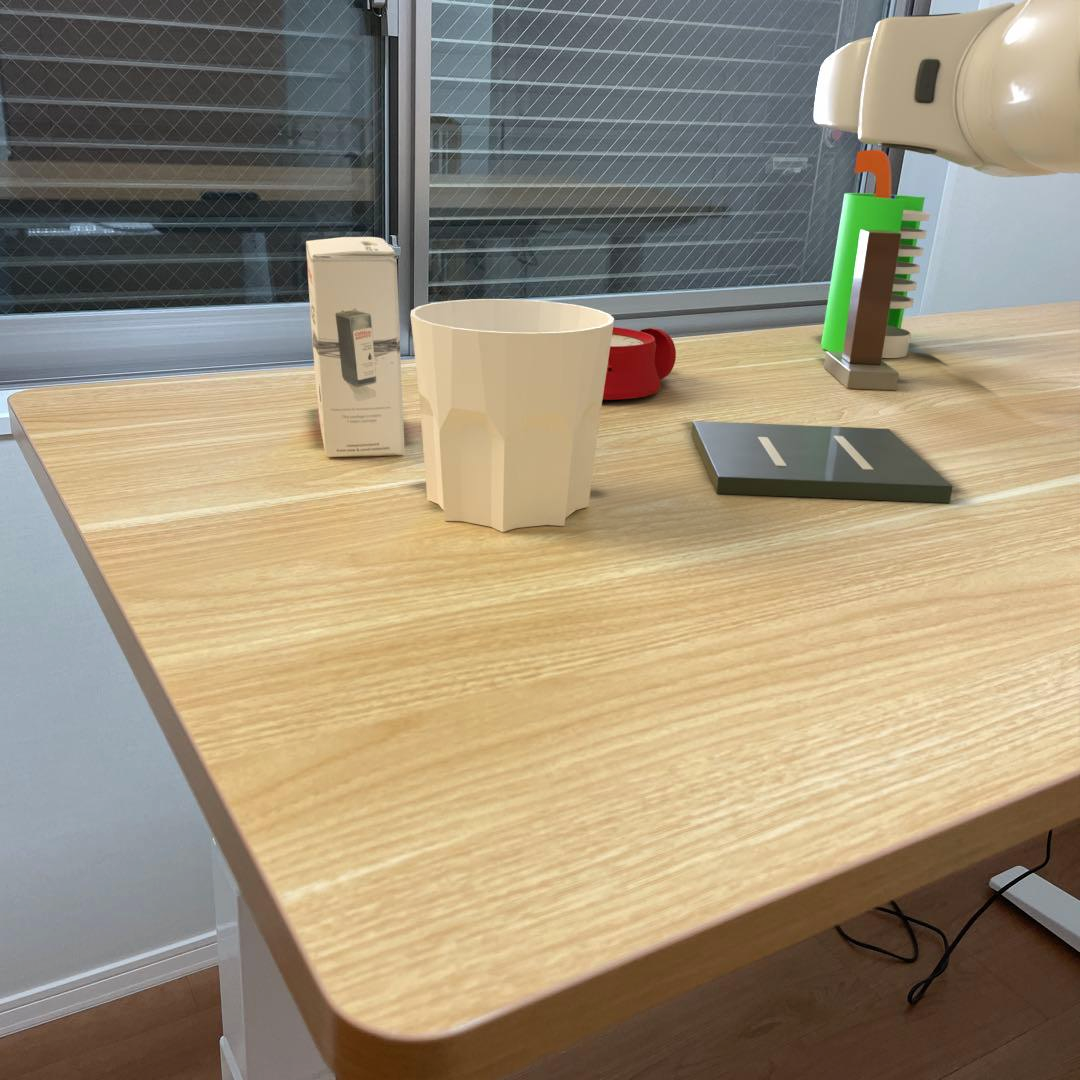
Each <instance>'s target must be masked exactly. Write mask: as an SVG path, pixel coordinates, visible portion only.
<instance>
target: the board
mask: <svg viewBox="0 0 1080 1080" xmlns="http://www.w3.org/2000/svg"><path fill="white" fill-rule="evenodd" d="M691 423H692V424H691V433H690V435H691V437H692V439H693V442H694V444H695V446H696V448H697V449H696V450H697V451H698V453H699V455H700V458H701V461H702V463H703V465H704V467H705V470H706V471H707V474H708V476H709V479H710V481H711V483H712V485H713V487H714V490H715V493H716V494H717V495H720V494H721V495H742V496H743V495H744V496H745V495H746V496H768V497H770V496H771V497H794V498H817V499H818V498H819V499H820V498H821V499H840V500H841V499H844V500H866V501H867V500H868V501H891V502H892V501H893V502H912V503H913V502H917V503H939V504H942V503H943V504H950V502H951V499H952V493H953V488H954V487H953V485H952V484H951V483H950V482H948V481H947V480H946V479H945V478H944V477H943V476H942V475H941V474H940V473H938V472H937V471H936V470H935V469H934V468H933V467H932V466H931V465H929V464H928V463H927V462H926V461H925V460H924V459H923V458H922V457H920V456H919V454H917V453H916V452H915V451H914V450H913V449H911V448H910V447H909V445H907V444H906V443H905V442H904V441H903V440H902V439H901V438H899V436H897V435H896V434H895V433H894V432H893V431H891V429H889V428H879V427H878V428H877V427H851V426H829V425H827V426H826V425H806V424H805V425H804V424H803V425H802V424H801V425H800V424H778V423H777V424H776V423H752V422H726V421H725V422H724V421H707V420H706V421H705V420H703V421H701V420H693V421H692V422H691Z"/></svg>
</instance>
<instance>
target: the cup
mask: <svg viewBox="0 0 1080 1080" xmlns="http://www.w3.org/2000/svg"><path fill="white" fill-rule="evenodd" d="M614 323H615V318H614V316H612V314H610V313H607V312H605V311H603V310H600V309H598V308H597V309H596V308H593V307H588V306H585V305H578V304H571V303H565V302H558V301H557V302H556V301H545V300H535V299H533V300H532V299H514V298H478V299H477V298H476V299H469V298H468V299H458V300H457V299H456V300H445V301H438V302H431V303H427V304H422V305H419V306H416V307H415V308H413V309H411V310H410V324H411V332H412V342H413V351H414V352H413V353H414V360H415V361H414V362H415V369H416V378H417V379H416V380H417V391H418V399H419V400H418V401H419V410H420V426H421V439H422V451H423V452H422V453H423V462H424V472H425V473H424V474H425V475H424V476H425V489H426V499H427V501H429V502H432V503H434V504H436V505H438V506H439V507H440V508H441V509H442V510H443V521H444V522H465V523H469V524H474V525H480V526H485V527H490V528H493V529H494V530H497V531H499V532H502V533H504V532H507V531H512V530H514V529H518V528H529V527H539V526H557V527H559V526H560V527H565V524H566V523H565V522H566V519H567V518H568V517H569V516H570V515H572V514H573V513H574V512H575V511H578V510H582V509H586V508H589V505H590V499H591V498H590V496H591V489H592V482H593V475H594V467H595V459H596V451H597V443H598V435H599V428H600V419H601V413H602V406H603V393H604V386H605V379H606V372H607V365H608V358H609V352H610V345H611V338H612V331H613V327H614Z"/></svg>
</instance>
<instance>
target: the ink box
mask: <svg viewBox="0 0 1080 1080" xmlns="http://www.w3.org/2000/svg"><path fill="white" fill-rule="evenodd" d="M305 251H306V265H307V281H308V283H307V284H308V295H309V297H308V298H309V311H310V326H311V342H312V343H311V344H312V354H313V367H314V378H315V379H314V380H315V390H316V402H317V413H318V422H319V427H320V432H321V438H322V443H323V449H324V454H325V457H327V458H350V457H383V456H384V457H385V456H404V455H405V430H404V428H405V427H404V407H403V404H404V403H403V387H402V386H403V385H402V384H403V383H402V382H403V380H402V361H401V360H402V359H401V340H400V339H401V338H400V337H401V336H400V311H399V310H400V307H399V286H398V261H397V257H396V251H395V250H394V248H393V247H392V246H391V245H390V244H389V243H388V242H387V241H386V240H385V239H384V238H382V237H377V236H376V237H375V236H341V237H331V238H322V239H313V240H306V241H305Z"/></svg>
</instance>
